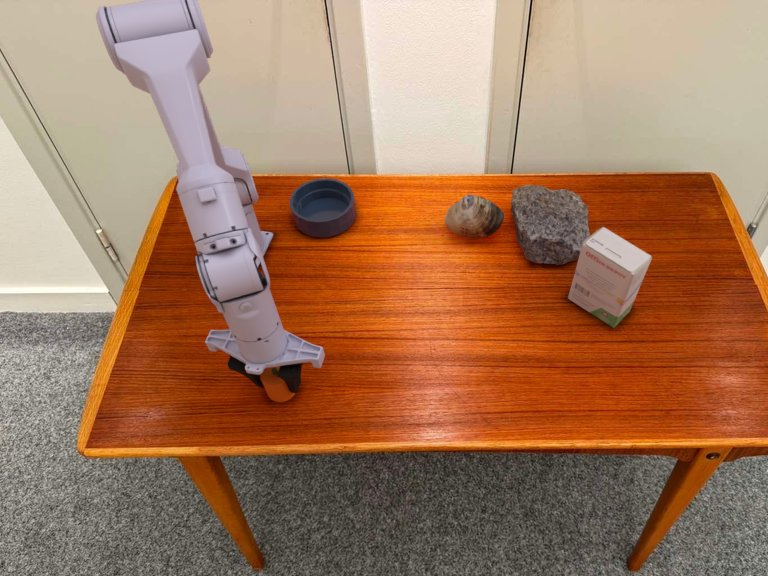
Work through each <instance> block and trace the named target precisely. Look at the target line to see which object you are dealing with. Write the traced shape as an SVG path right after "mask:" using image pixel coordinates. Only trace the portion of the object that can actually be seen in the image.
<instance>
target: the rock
mask: <svg viewBox="0 0 768 576" xmlns="http://www.w3.org/2000/svg"><path fill="white" fill-rule="evenodd" d="M511 193H512V196H511V199H510V200H511V201H510V204H511V207H510V212H511V216H512V218H513V221H514V222H513V223H514V228H515V234H516V240H517V243H518V245H519V247H520V248H521V249H522V251H523V252H522V253H523V254H524V258H525V259H526V260H527V261H530V262H531V263H535V264H544V265H547V264H549V265H556V266H560V265H561V266H562V265H564V264H565V265H566V264H567V263H568V262H574V261H577V260H578V259H579V256H580V252H581V248H582V244H583V242H584V241H585V240H586V239H588V238H589V237H590V236H591V232H590V227H589V217H590V216H589V206H588V204H586V203H585V202H584V201H583V200H582V199H583V198H582V197H581V194H576V193H575V191H572V190H569V189H566V188H565V189H564V188H563V189H549V188H548V187H545V186H544V185H538V184H537V185H536V184H526V185H521V186H519V187H515V188H514V189H513V190H512V192H511Z"/></svg>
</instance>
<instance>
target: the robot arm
mask: <svg viewBox="0 0 768 576" xmlns="http://www.w3.org/2000/svg"><path fill="white" fill-rule="evenodd" d="M95 21H96V24H97V27H98V30H99V33H100V36H101V39H102V42H103V44H104V47H105V49H106V52H107V54H108V56H109V58H110V60H111V62H112V64H113V66H114V68H115V69H116V70H117V71H120V72H121V73H122V74H123V75H125V77H126V79H127V80H128V82H129V83H130V85H131V86H132V87H133V88H136V89H137V90H141V91H142V92H145V93H147V94H150V96H151V99H152V101H153V103H154V106H155V108H156V110H157V113H158V115H159V118H160V120H161V123H162V125H163V127H164V129H165V132H166V134H167V137H168V138H169V141H170V143H171V146H172V148H173V151H174V153H175V155H176V158H177V160H178V163H176V170H175V172H176V177H177V181H178V182H177V185H176V188H175V189H176V193H177V196H178V199H179V202H180V205H181V208H182V211H183V215H184V217H185V219H186V223H187V225H188V229H189V231H190V234H191V238H192V240H193V243H194V246H195V249H196V252H197V255H195V265H196V266H195V267H196V269H197V273H198V276H199V279H200V282H201V284H202V286H203V287H202V288H203V290H204V292H205V294H206V296H207V297H208V298H209V300H210V302H211V303H212V304H213V305H214V306H215V308H216V310H217V312H218V313H219V314H220V313H221V314H222V315H223V318H224V320H225V322H226V324H227V326H228V329H221V330H219V329H210V331H209V333H208V334H207V337H206V339H205V341H204V343H205V345H206V347H207V349H208V351H209V352H215V353H216V352H218V351H220V350H221V351H222V352H224V353H225V354H227V355H229V358H228V360H227V367H228V370H229V371H233V372H237V373H239V374H241V375H243V376H244V377H245V378H247V379H249V380H250V382H252V383H253V384H254V385H255V386H256V387H258V388H259V389H260V388H261V389H265V388H264V385H263V383H262V381H261V379H260V374H262V372H263V370H264V369H265V368H268V367H276V366H280V368H279V371H278V373H277V377H279V378H281V379H283V380H284V381H285V383H286V384H287V387H288V389H289V391H290V392H291V393H295V394H297V393H298V390H299V387H300V385H301V382H302V367H303V365H304V363H311V365H312V368H317V369H321V368H322V366H323V363H324V360H325V357H326V353H325V351H324V346H321V345H316V344H313V343H311V342H309V341H307V340H305V339H303V338H301V337H299V336H297V335H295V334H293V333H292V332H289V331H287V330H285V329H284V326H283V323H282V319H281V317H280V315H279V312H278V311H279V310H278V309H277V306H276V303H275V300H274V297H273V295H272V291H271V277H270V274H269V271H268V267H267V264H266V261H265V258H264V256H265V255H266V252H267V250H268V249H269V246H270V244H271V242H272V240H273V238H274V233H273V232H271V231H264V230H261V227H260V224H259V222H258V218H257V216H256V212H255V208H254V204H257V203H258V200H259V199H260V198H259V193H258V191H257V187H256V184H255V181H254V178H253V175H252V171H251V168H250V166H249V165H250V164H249V162H248V161H247V159H246V156H245V154H244V153H242V150H241V149H238V148H235V147H228V146H225V145H221V144H220V141H219V138H218V135H217V132H216V129H215V126H214V124H213V120H212V118H211V114H210V113H209V109H208V106H207V104H206V103H207V102H206V101H205V98H204V95H203V93H202V89H201V86H200V84H201V83H202V82H203V80H204V79H205V78H206V77H207V75H209V73H210V72H211V66H210V63H209V59H211V58H212V55H213V53H214V49H213V45H212V42H211V38H210V36H209V35H210V34H209V32H208V29H207V26H206V23H205V19H204V16H203V13H202V9H201V7H200V3H199V0H139V1H132V2H127V3H122V4H116V5H110V6H106V5H100V6H98V7H97V11H96V13H95ZM259 266H261V268H262V271H263V273H262V271H260V269H259Z"/></svg>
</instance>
